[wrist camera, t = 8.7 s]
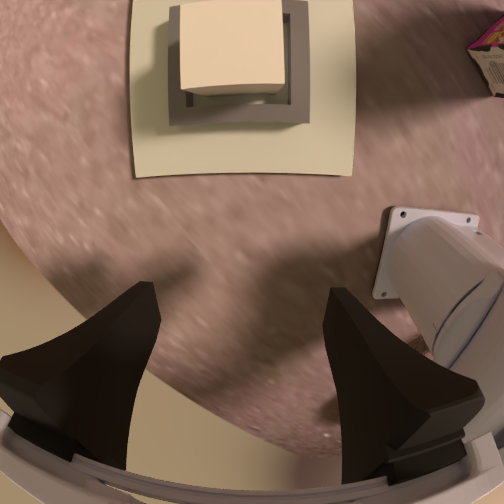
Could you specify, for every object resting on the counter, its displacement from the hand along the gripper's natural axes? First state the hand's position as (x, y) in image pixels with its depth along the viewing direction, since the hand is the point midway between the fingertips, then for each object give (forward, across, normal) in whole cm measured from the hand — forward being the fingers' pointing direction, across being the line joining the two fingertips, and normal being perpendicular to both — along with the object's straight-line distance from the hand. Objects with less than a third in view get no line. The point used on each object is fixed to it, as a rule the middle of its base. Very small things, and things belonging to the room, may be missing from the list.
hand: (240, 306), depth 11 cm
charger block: (+8, +1, -10) cm, 13 cm away
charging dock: (+9, +1, -11) cm, 14 cm away
